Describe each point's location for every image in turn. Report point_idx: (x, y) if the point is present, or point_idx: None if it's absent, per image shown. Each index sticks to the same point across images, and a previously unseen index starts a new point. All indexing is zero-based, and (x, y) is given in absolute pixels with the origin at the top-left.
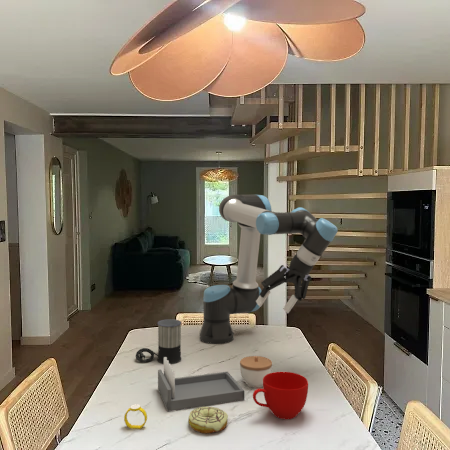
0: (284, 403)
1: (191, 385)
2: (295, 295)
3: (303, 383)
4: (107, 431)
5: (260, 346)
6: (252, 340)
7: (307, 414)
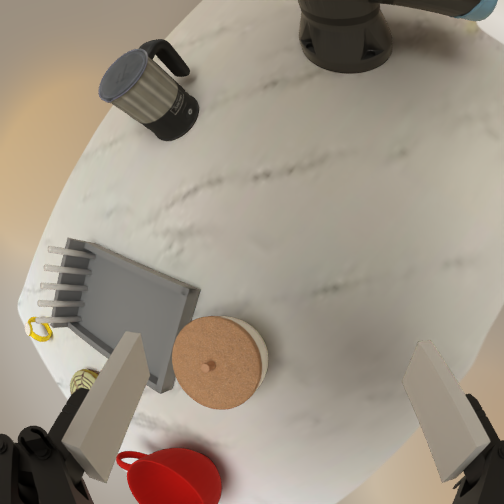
0: (157, 494)
1: (124, 276)
2: (482, 459)
3: None
4: (34, 313)
5: (430, 136)
6: (432, 90)
7: (228, 493)
